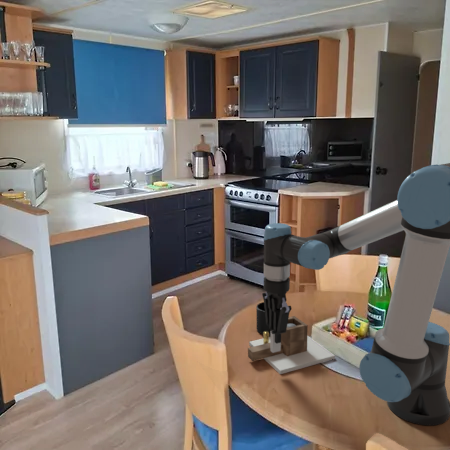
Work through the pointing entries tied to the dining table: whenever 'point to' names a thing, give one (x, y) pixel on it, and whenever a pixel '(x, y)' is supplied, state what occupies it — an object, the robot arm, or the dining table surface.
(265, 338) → the dowel pin
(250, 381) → the dining table surface
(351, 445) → the dining table surface
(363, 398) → the dining table surface
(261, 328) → the mug
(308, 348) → the post board
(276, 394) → the dining table surface
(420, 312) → the robot arm
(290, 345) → the brown wooden bracket
